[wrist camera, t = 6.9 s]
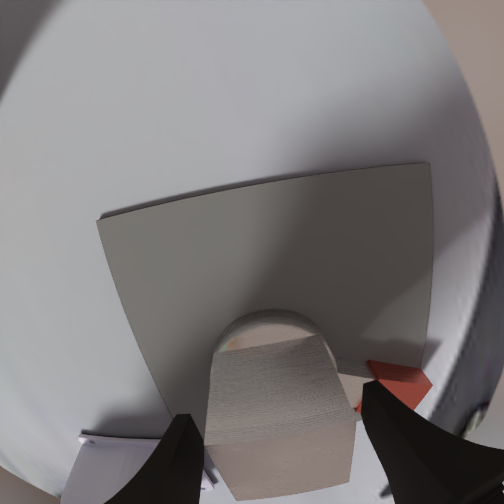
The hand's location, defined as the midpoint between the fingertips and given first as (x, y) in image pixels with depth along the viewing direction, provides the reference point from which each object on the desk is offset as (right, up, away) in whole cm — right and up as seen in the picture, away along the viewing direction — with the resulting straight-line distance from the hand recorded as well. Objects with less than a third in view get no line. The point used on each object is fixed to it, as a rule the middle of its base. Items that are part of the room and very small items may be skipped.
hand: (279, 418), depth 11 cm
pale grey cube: (0, +1, +2) cm, 2 cm away
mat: (+1, +2, +4) cm, 5 cm away
